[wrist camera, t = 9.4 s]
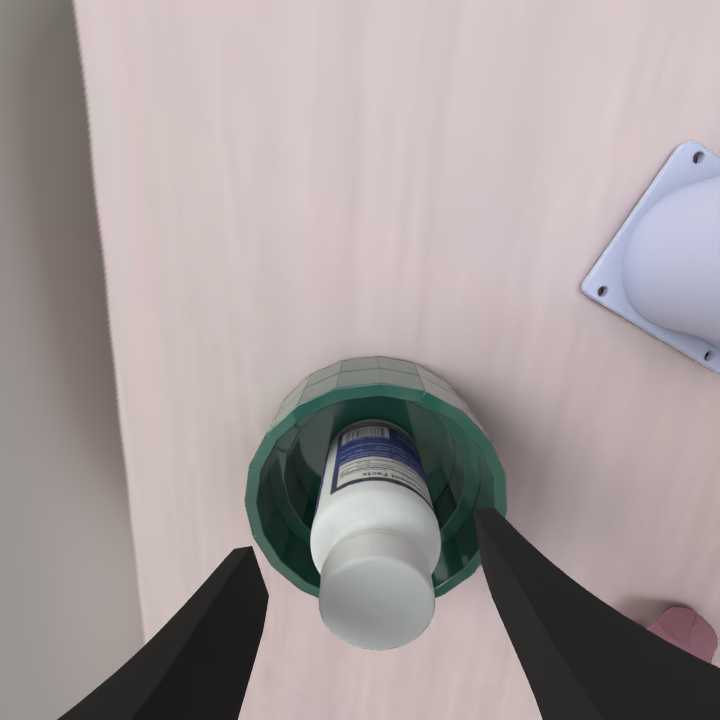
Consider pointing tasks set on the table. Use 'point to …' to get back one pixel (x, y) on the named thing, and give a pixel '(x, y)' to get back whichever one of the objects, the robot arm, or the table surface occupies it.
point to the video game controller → (687, 632)
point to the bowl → (359, 402)
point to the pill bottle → (375, 538)
